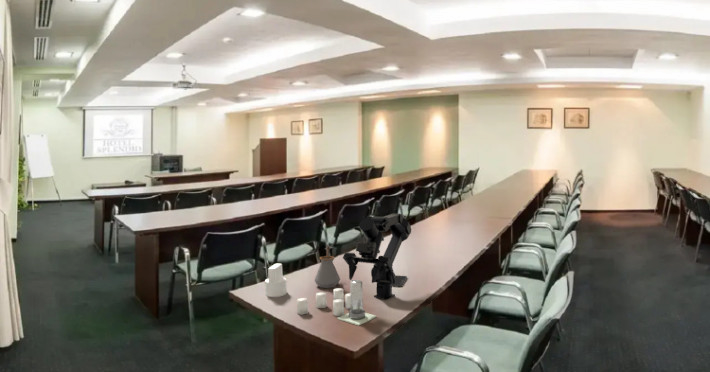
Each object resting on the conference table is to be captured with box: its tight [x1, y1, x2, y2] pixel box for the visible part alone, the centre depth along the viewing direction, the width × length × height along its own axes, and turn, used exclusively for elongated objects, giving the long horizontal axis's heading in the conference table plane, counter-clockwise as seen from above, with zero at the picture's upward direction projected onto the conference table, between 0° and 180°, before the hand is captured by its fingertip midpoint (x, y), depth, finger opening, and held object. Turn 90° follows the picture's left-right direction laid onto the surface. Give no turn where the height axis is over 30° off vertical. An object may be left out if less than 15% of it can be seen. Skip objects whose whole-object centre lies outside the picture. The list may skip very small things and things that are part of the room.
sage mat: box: [337, 312, 377, 326], centre depth 166 cm, size 10×10×1 cm
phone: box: [392, 275, 408, 288], centre depth 209 cm, size 8×1×15 cm
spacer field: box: [296, 287, 351, 317], centre depth 175 cm, size 21×16×5 cm
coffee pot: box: [314, 245, 341, 289], centre depth 210 cm, size 21×12×15 cm, turn 0°
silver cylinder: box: [348, 279, 366, 320], centre depth 165 cm, size 6×6×13 cm
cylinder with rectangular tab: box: [264, 263, 288, 298], centre depth 196 cm, size 9×9×12 cm
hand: (361, 280), depth 169 cm, fingers open, 9 cm apart
